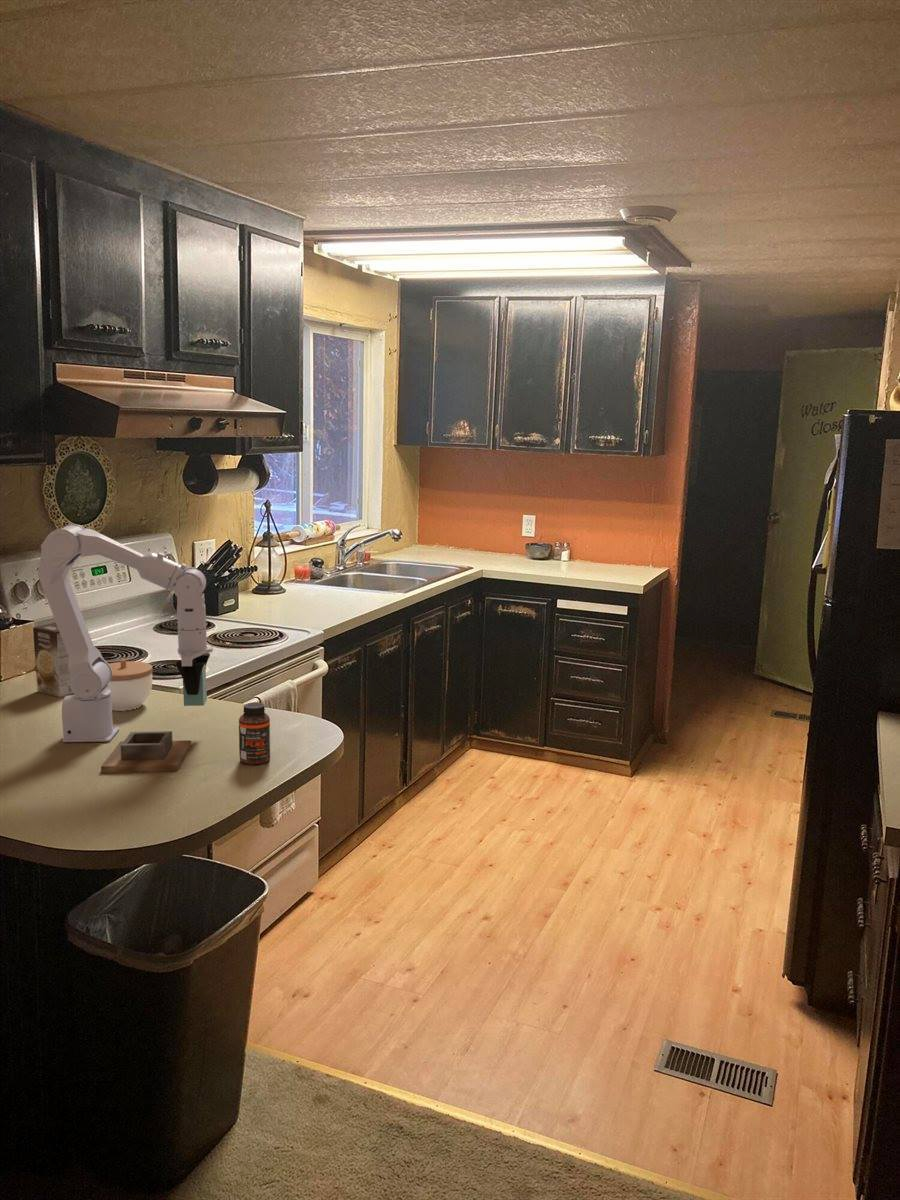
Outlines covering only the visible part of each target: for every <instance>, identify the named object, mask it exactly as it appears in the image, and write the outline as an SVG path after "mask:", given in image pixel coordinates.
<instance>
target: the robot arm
mask: <svg viewBox="0 0 900 1200" xmlns="http://www.w3.org/2000/svg"><path fill="white" fill-rule="evenodd" d="M40 547H41V548H40V549H41V554H40V558H39V562H38V563H39V564H38V569H37V576H38V579H39V581H40V584H41V587H42V589H43V592H44V595H45V598H46V600H47V603H48V605H49V608H50V610H51V613H52V616H53V619H54V621H55V623H56V624H57V626H58V629H59V632H60V634H61V637H62V639H63V642H64V645H65V647H66V650H67V652H68V655H69V662H68V669H69V672H70V676H71V678H70V688H71V690H72V692H73V694H70V695H66V696H64V698H63V701H62V704H61V719H62V734H63V735H62V736H63V737H62V738H63V739H62V742H63V743H86V742H87V743H90V742H92V743H93V742H95V743H97V742H99V743H100V742H110V741H111V740H112V738H114V736H115V735H116V734H117V733H118V731H120V727H116V726H115V727H114V722H113V710H112V703H111V691H110V689H109V687H108V683H109V682H110V680H111V678H112V669H111V667H110V665H109V664H110V663H108V662H107V661H106V660H105V659H104V657H103V655H102V652H101V651H100V650H99V649H98V648H97V647H96V646H95V645H94V642H93V640H92V637H91V634H90V633H89V629H88V626H87V624H86V622H85V618H84V617H83V614H82V611H81V608H80V605H79V603H78V600H77V598H76V595H75V592H74V590H73V587H72V585H71V582H70V579H69V576H68V574H69V572H70V570H71V568H72V567H73V565H74V563H75V561H76V560H77V559H78V558H79V557H82V558H83V557H91V556H101V557H104V558H106V559H109V560H112V561H114V562H116V563H119V564H122V565H124V566H127V567H130V568H132V569H134V570H137V572H138V575H139V576H140V578H141V579H143V580H145V581H147V582H149V583H151V584H154V585H156V586H157V587H160V588H163V589H165V590H168V591H172V592H173V593H174V595H175V597H176V600H177V601H176V602H177V604H176V618H177V620H176V621H177V622H176V623H177V642H178V645H177V646H178V648H177V654H178V655H179V657H180V659H181V660H177V661H176V662H175V666H176V670H178V672H179V674H180V676H181V677H182V682H183V681H184V685H185V689H186V692H187V695H197V694H198V691H199V685H200V676H201V672H202V669H203V666H204V664H205V665H206V666H207V663H208V661H209V660H210V659H209V658H210V656H211V653H212V652H213V651H214V648H213V647H212V646H208V640H207V639H208V638H207V635H208V634H207V614H206V613H207V611H206V610H207V608H206V603H205V601H206V599H205V593H203V592H204V591H205V589H206V586H207V579H206V576H205V574H204V573H203V572H202V571H201V570H199V569H198V568H197V567H195V566H194V567H188V565H187V564H186V563H181V564H180V563H177V562H175V561H173V560H171V559H169V558H167V557H166V554H165V553H163V552H158V553H155V552H150V553H147V554H142V553H140V552H138V551H136V550H135V549H133V548H131V547H128V546H126V545H125V544H122V543H120V542H118V541H116V540H115V539H112V538H110V537H108V536H106V535H105V534H101V533H100V532H98V531H96V530H94V529H91V528H85V527H84V526H82V525H80V524H76V523H71V524H67V525H65V526H63V527H61V528H57V529H54V530H52V531H51V532H50V533H49V534H47V536H46V538H44V541H43V542H42V543H41V545H40Z"/></svg>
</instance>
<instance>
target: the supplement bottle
mask: <svg viewBox="0 0 900 1200" xmlns="http://www.w3.org/2000/svg"><path fill="white" fill-rule="evenodd" d="M265 711H266V710H265V704H264V703H262V702H255V701H251V702H248V703H245V704H244V705H243V713H242V715H240V717H239V718H238V738H239V739H238V747H239V750H238V751H239V761H240V762H241V763H242V764H244V763H245V765H248V764H249V765H250V766H255V765H257V764H258V765H262V764H266V763H267V762H269V761H270V760H271V719H270V716H269V715H268V714H267V713H266V712H265ZM265 762H266V763H265ZM258 765H257V766H258Z"/></svg>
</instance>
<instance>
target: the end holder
mask: <svg viewBox="0 0 900 1200" xmlns="http://www.w3.org/2000/svg"><path fill="white" fill-rule="evenodd" d="M191 747H192V741H191V740H188V739H187V740H173V731H172V730H169V731H168V730H167V731H166V730H165V731H162V730H161V731H160V730H159V731H130V733H129V734H128V735H127V736H126V737H125V739H124V740H123V741H119V742H118V744H117V745H116V746H115V748H114V749H113V750H112V752H111V753H110V754H109V755H108V757H107V758H106V759H105V760H104V762H103V763H102V765H101V766H100V773H136V772H135V771H141V772H140V773H143V772H142V771H145V772H147V771H149V773H150V772H178V770H179V768H180V766H181V765H182V763H183V761H184V760H185V757H187V755H188V753H189V751H190V749H191ZM188 750H189V751H188ZM126 771H127V772H126ZM128 771H130V772H128ZM133 771H134V772H133Z"/></svg>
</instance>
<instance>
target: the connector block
mask: <svg viewBox="0 0 900 1200" xmlns="http://www.w3.org/2000/svg"><path fill="white" fill-rule="evenodd" d="M206 667H207V664H206V665H205V664H204V666H203V669H202V672H201V676H200V685H199V691H198V694H197V695H187V692H186V689H185V685H184V681H183V680H182V687H183V688H182V689H183V691H182V692H183V706H184V707H190V706H191V707H194V706H195V707H196V706H197V707H200V706H201V707H202V706H205V704H206V702H207V699H208V697H207V696H208V693H207V672H206V670H207V669H206Z"/></svg>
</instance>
